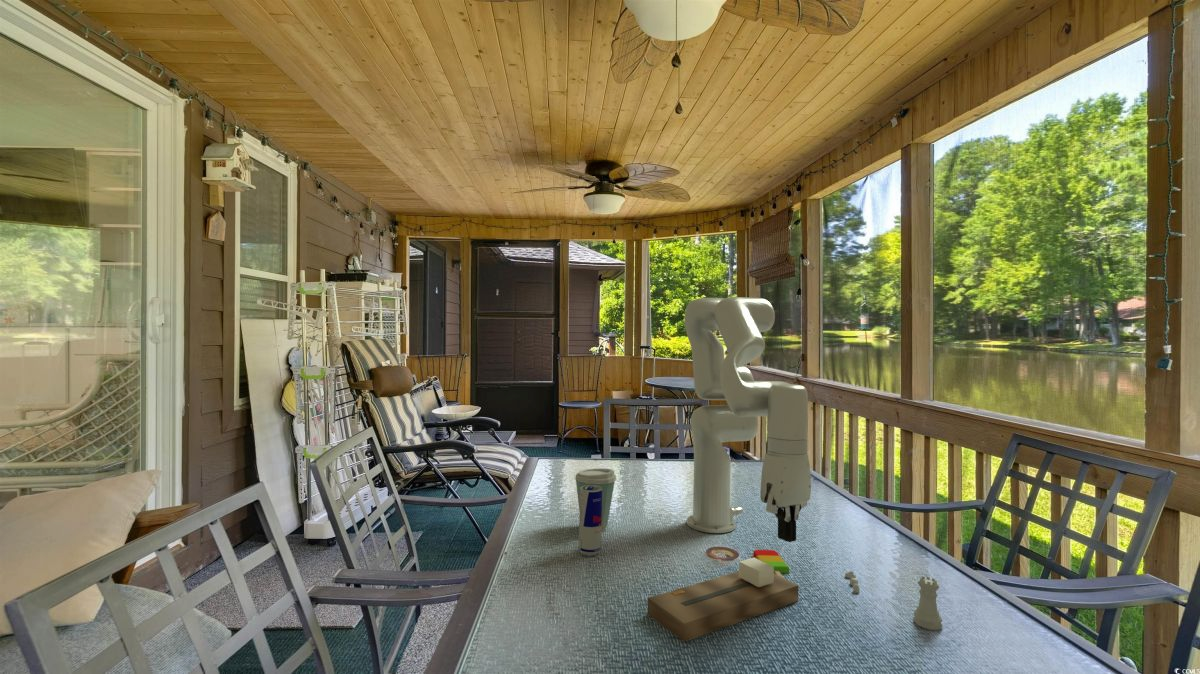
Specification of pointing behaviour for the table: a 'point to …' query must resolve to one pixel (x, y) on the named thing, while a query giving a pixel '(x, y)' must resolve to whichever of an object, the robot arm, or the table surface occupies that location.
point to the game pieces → (853, 581)
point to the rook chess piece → (928, 605)
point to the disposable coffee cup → (604, 480)
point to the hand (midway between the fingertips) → (786, 539)
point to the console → (718, 604)
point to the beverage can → (590, 519)
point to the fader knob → (756, 572)
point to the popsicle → (772, 560)
